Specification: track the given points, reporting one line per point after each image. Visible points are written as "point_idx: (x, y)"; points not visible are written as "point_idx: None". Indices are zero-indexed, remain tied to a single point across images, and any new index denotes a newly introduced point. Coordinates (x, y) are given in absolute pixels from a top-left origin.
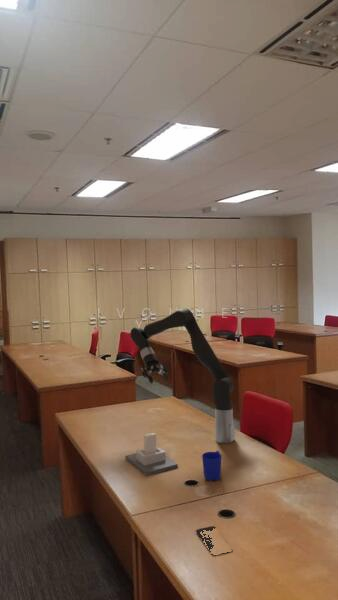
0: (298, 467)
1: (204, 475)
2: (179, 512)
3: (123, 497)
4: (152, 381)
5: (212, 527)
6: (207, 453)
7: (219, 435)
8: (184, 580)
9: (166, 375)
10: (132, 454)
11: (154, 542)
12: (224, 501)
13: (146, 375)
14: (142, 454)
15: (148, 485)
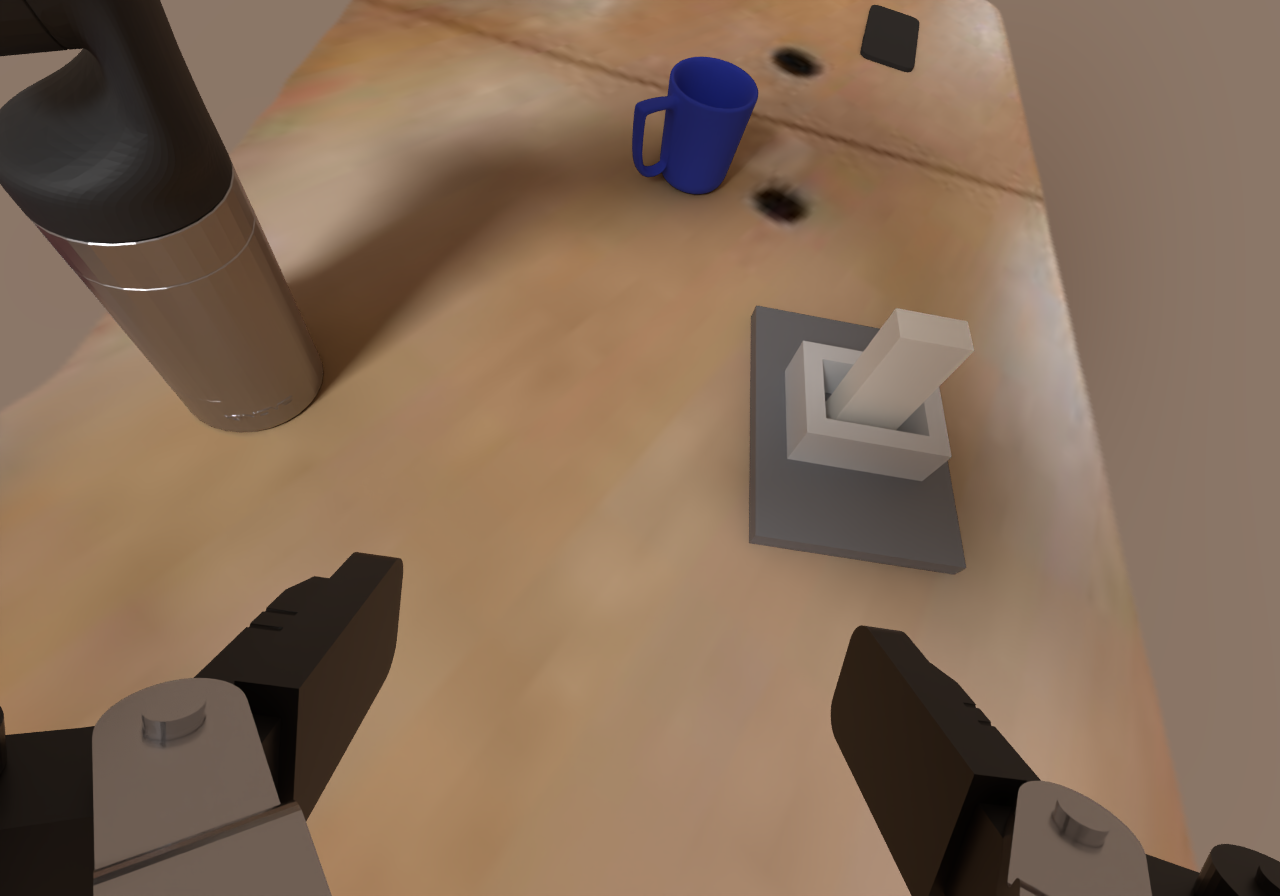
0: (351, 34)
1: (725, 175)
2: (910, 132)
3: (1049, 283)
4: (882, 632)
5: (870, 52)
6: (710, 108)
7: (308, 337)
8: (997, 24)
9: (238, 643)
10: (920, 555)
11: (1017, 104)
12: (760, 88)
13: (1186, 875)
14: (933, 394)
15: (938, 286)
